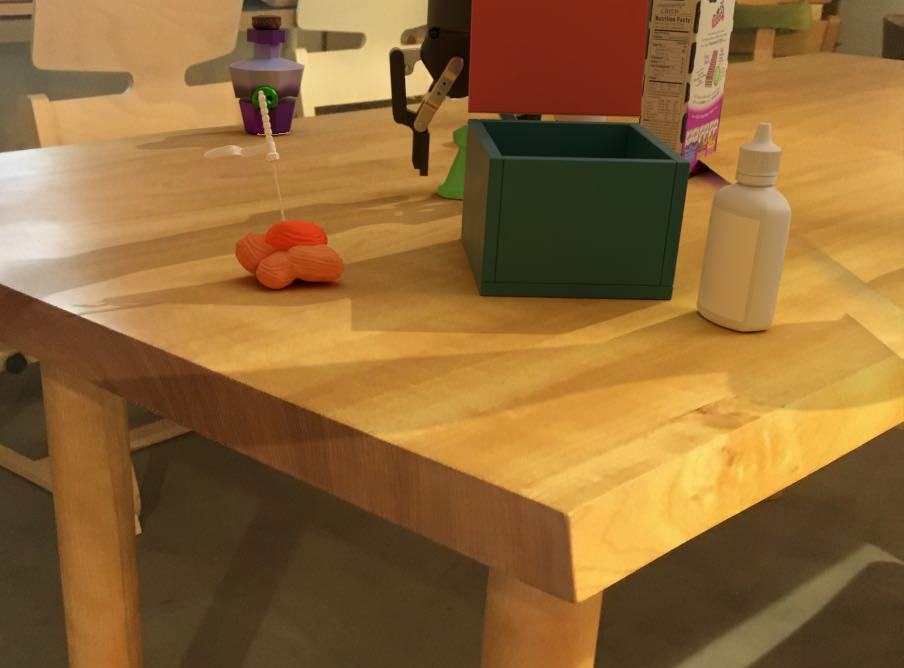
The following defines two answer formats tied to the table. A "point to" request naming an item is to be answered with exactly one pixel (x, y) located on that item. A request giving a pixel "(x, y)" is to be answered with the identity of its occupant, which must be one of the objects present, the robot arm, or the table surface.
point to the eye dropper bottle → (746, 241)
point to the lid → (557, 57)
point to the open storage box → (572, 209)
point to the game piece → (456, 168)
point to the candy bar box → (686, 74)
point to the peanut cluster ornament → (282, 234)
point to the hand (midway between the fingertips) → (462, 174)
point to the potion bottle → (266, 78)
